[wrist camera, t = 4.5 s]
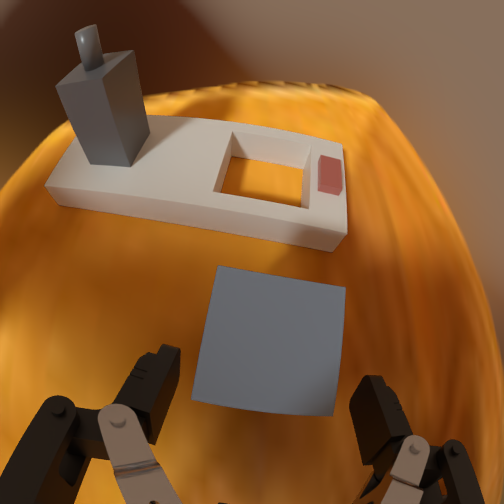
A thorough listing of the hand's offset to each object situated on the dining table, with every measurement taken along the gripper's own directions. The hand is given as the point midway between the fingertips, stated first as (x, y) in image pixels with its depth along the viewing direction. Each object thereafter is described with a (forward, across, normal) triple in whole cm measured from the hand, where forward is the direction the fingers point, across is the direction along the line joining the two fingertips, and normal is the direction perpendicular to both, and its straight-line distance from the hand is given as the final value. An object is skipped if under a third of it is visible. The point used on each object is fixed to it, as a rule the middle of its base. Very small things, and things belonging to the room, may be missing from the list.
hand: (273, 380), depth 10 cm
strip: (+14, -8, +6) cm, 17 cm away
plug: (+5, -1, -3) cm, 6 cm away
